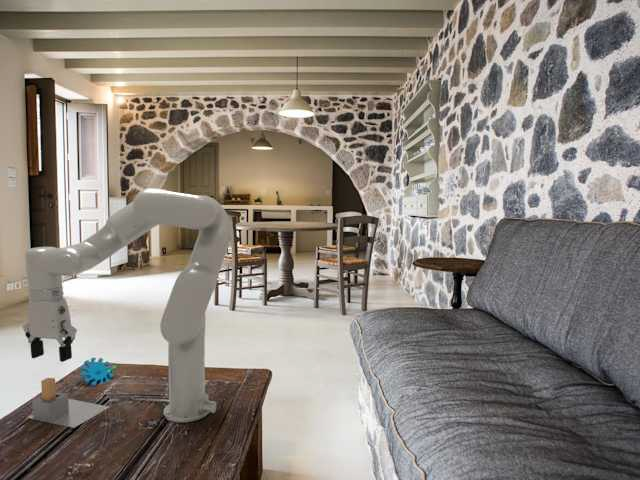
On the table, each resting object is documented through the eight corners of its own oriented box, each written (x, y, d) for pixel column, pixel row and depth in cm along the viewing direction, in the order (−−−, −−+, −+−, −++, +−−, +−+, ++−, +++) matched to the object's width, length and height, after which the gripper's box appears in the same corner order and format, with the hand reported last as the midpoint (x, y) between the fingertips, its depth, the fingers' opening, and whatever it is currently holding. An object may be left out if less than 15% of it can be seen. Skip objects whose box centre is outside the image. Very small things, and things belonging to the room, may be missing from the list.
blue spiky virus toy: (86, 387, 135) (78, 358, 139) (78, 397, 137) (70, 368, 142) (121, 380, 144) (112, 353, 148) (113, 390, 146) (104, 363, 150)
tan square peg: (56, 414, 119) (55, 378, 119) (50, 418, 117) (48, 381, 116) (49, 413, 120) (47, 377, 119) (42, 417, 118) (41, 380, 117)
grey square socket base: (110, 409, 124) (109, 389, 124) (74, 430, 113) (73, 408, 112) (65, 400, 129) (64, 381, 129) (26, 420, 118) (25, 399, 117)
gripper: (84, 292, 117) (89, 356, 119) (34, 290, 122) (39, 350, 124) (59, 299, 110) (65, 366, 111) (7, 296, 115) (14, 360, 117)
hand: (51, 358), depth 118 cm, fingers open, 9 cm apart
